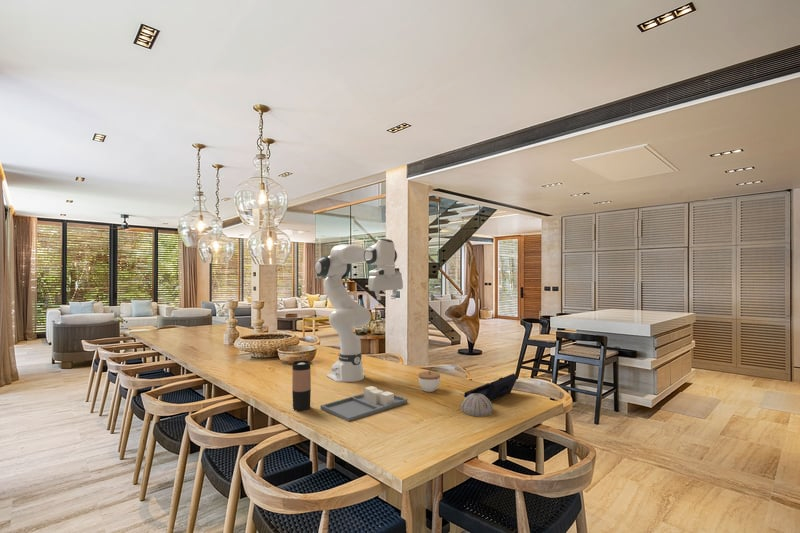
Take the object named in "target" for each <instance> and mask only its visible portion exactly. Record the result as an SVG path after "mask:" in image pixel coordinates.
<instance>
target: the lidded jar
mask: <svg viewBox="0 0 800 533" xmlns="http://www.w3.org/2000/svg"><path fill="white" fill-rule="evenodd" d="M417 375H418V384H419V387H420V388H421V389H422V390H423V391H424V392H426V393H432V392H435V391H436V390H437V389H438V388H439V386H440V384H441V383H440V382H441V374H440V372H436V371H431V370H427V371H422V372H418V374H417Z"/></svg>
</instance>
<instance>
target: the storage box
mask: <svg viewBox="0 0 800 533" xmlns="http://www.w3.org/2000/svg"><path fill="white" fill-rule="evenodd" d="M518 377H519V376H518V375H516V374H515V373H511V374H509V375H507V376H504V377H500V378H498V379H496V380H494V381H492V382H490V383H485V384H483V385H480V386H478V387H475V388H474V389H473V388H472V389H470V390H468V391H466V392H464V393H463V396H464V398H466V397H467V396H468V395H470V394H476V393H477V394H483V395H484V396H486V397H487V398H488V399H489V401H490V402H492V401H495V400H496V399H499V398H501V397H503V396H506V395H508V394H510V393H512V390H513V388H514V386H515V384H516V382H517V379H518Z"/></svg>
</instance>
